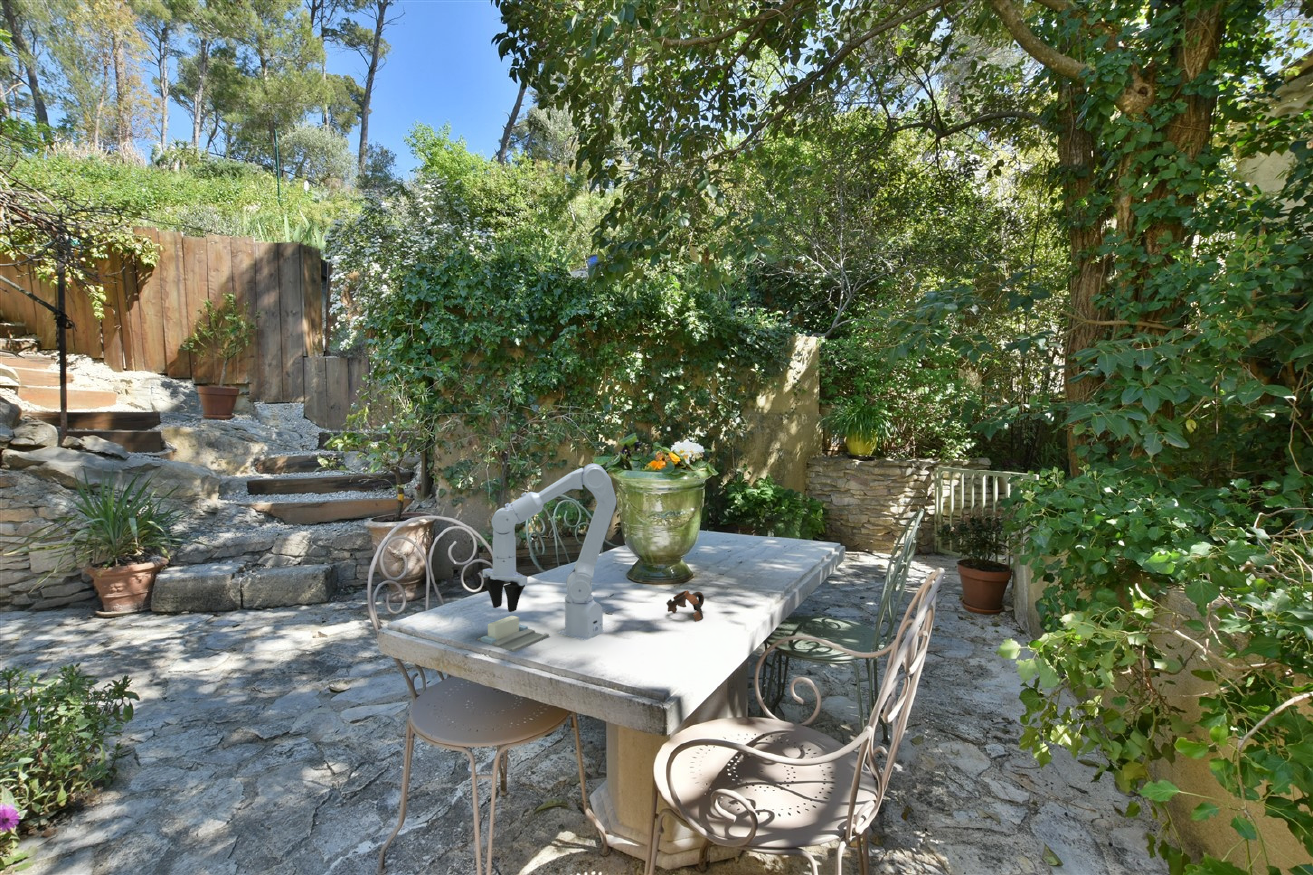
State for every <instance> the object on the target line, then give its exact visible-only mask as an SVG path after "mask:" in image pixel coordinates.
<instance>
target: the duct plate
mask: <svg viewBox="0 0 1313 875" xmlns="http://www.w3.org/2000/svg"><path fill="white" fill-rule="evenodd" d="M548 638H551V636H550V634H549V633H544V634H542V633H538V632H536V631H535V629H531V628H529V626H528V625H524V624H520V623H519V632H518V633H515V634H513V635H510V636H508V637H505V638H503V639H500V640H498V641H496V639H495V638H492V637H488V634H486V635H483V636H481V637H479V638H477V639H475V641H478V642H481V643H485V644H488V645H491V646H494V647H497V648H500V649H504V650H506V651H510V652H513V653H516V652H518V651H521V650H523V649H526V648H528V647H530V646H532V645H534V644H536V643H539V642H542V641H544V640H546V639H548Z"/></svg>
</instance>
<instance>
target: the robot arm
mask: <svg viewBox="0 0 1313 875" xmlns="http://www.w3.org/2000/svg"><path fill="white" fill-rule="evenodd" d="M583 486H584V487H585V488H586V489H587V490H588V491H589V492H591V493H592V495H593V497H594V499H595V500H596V505H595V509H594V512H593V514H592V518H591V521H590V523H589V526H588V529H587V533H586V536H585V538H584V541H583V544H582V546H581V550H580V552H579V556H578V559H577V560H576V562H575V565H574V567H573V569H572V570H571V572H569V573H568V574H567V575H566V576H567V577H566V580H565V584H566V588H567V589H566V595H565V596H564V629H562V630H560V631H559V630H558V632H557V634H560V635H563V636H565V637H570V638H575V639H578V640H581V641H588V640H589V639H591V638H594V637H596V636H598V635H600V634H602V633H604V632H605V629H604V630H603V628H604V624H603V620H604V618H603V617H604V616H603V614H604V613H603V612H604V611H603V608H602V605H601V604H600V603H599V602H596V601H595V600H594V597H593V585H592V582H593V579H594V573H595V569H596V568H595V567H596V565H597V562H598V558H599V556H600V553H601V550H602V548H603V544H604V542H605V538H606V535H607V533H608V529H609V526H610V524H611V521H612V518H613V516H614V512H615V509H616V505H617V496H616V493H615V490H614V487H613V486H614V485H613V481H612V478H611V477H610V475H609V473H607V471H606V470H605V469H604V468H603V466H601V465H600V464H598V463H589V464H586V465H585V466H584V467H581V468H578V469H576V470H573V471H571V472H569V473H567V474H566V475H564V476H563V477H561V478H559V479H558V480H557V481H555V482H554V483H551V484H550V485H549V486H547V487H545V488H544V489H542V490H541V491H539V492H534V491H529V492H528V493H527V492H526V491H525V492H522V493H521V494H520V496H521V497H519V498H517V499H515V500H514V501H512V502H511V503H509V502H507V503H505V504H504V507H501V508H499V509H497V510H496V511H495V512H494V514H493V515H492V518H491V527H492V529H493V531H492V536H493V538H492V568H484V569H482V578H487V580H484V581H483V585H484V586H485V588H486V590H487V591H488V594H489V597H490V599H491V604H492V608H493V609H497V608H500V607H501V606H502V603H503V591H504V592H505V594H506V600H507V604H506V605H507V611H508V612H509V613H513V612H515V611H517V609H518V606H519V605H518V604H519V600H520V597H521V595H522V592H523V591H524V588H525V587H526V585H528V584H529V583H528V576H526V575H523V574H521V573H519V572H518V571H517V555H516V553H517V544H516V543H517V537H516V536H515V535H516V534H515V529H516V528H515V527H516V524H518V525H519V524H522V523H523V522H525V521H527V520H529V519H530V518H533V517H534V516H536V515H538V514H540V513H541V512H542V511H543V509H544V505H545V504H547V503H548V502H550V501H551V500H554V499H556V498H558V497H560V496H561V495H563V494H564V493H566V492H569V491H570V490H583V489H584V488H583ZM505 582H506V583H507V582H508V584H505Z"/></svg>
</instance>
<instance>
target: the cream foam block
mask: <svg viewBox="0 0 1313 875" xmlns="http://www.w3.org/2000/svg"><path fill="white" fill-rule="evenodd" d="M519 624H520V617H519V616H515V615H509V616H506V617H504V618H501V619H499V620H495V621H493V622H490V623H488V624H487V635H488V637H492V638H495V639H496V641H498V640H500V639H503V638H505V637H508V636H510V635H513V634H515V633H518V632H519Z"/></svg>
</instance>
